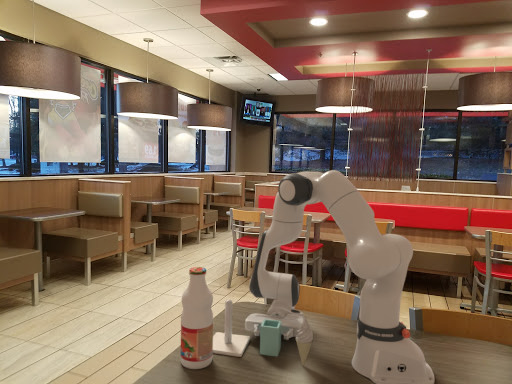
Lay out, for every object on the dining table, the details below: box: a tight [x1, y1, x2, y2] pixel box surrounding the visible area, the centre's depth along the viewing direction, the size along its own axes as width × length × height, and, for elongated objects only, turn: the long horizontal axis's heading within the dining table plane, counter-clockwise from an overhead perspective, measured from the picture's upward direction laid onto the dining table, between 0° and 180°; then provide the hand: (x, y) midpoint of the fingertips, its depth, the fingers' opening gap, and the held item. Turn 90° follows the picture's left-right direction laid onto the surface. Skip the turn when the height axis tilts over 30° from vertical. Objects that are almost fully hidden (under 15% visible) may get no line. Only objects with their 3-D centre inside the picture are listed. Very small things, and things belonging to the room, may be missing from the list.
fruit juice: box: [180, 266, 214, 370], centre depth 111 cm, size 9×9×28 cm
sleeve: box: [259, 319, 282, 357], centre depth 119 cm, size 6×6×9 cm
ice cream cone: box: [295, 316, 314, 367], centre depth 110 cm, size 5×5×15 cm
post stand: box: [213, 299, 251, 358], centre depth 121 cm, size 12×12×15 cm
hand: (271, 335), depth 119 cm, fingers open, 8 cm apart
